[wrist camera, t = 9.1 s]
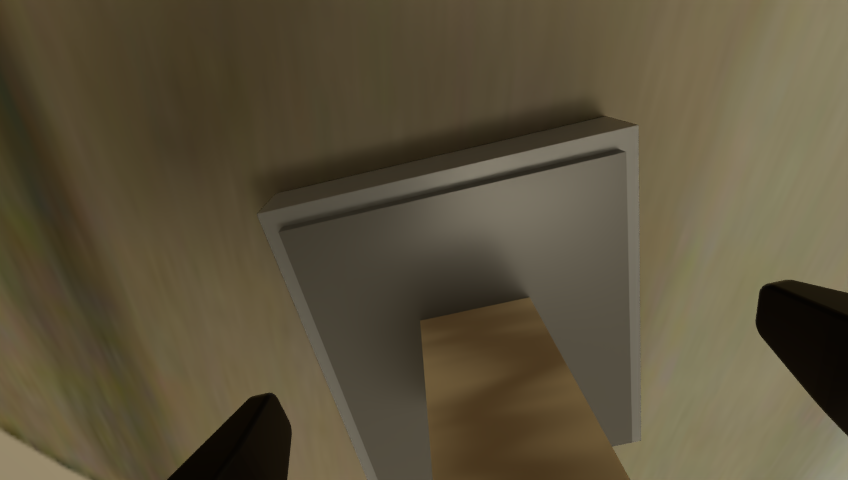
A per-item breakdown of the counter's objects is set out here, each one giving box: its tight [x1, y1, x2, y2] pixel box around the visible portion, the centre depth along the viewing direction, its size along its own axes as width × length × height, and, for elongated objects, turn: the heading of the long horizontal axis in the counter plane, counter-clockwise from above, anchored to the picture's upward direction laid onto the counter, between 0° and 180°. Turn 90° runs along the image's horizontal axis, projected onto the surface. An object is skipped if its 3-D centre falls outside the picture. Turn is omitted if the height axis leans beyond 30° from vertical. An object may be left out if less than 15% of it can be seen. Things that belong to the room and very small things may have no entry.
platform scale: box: [257, 116, 641, 480], centre depth 19 cm, size 14×16×3 cm
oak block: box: [420, 297, 630, 480], centre depth 14 cm, size 4×4×8 cm
